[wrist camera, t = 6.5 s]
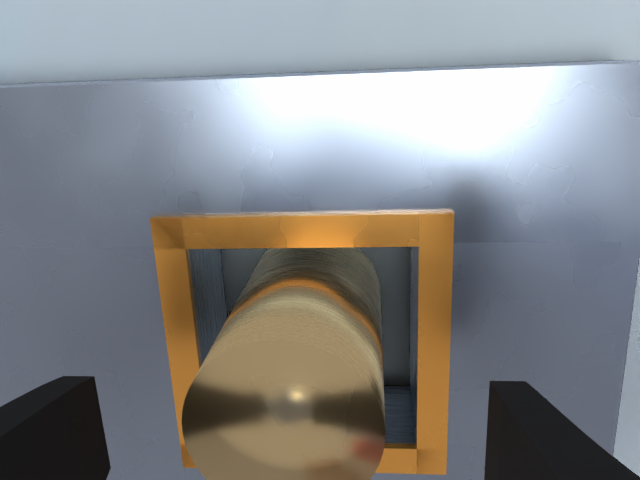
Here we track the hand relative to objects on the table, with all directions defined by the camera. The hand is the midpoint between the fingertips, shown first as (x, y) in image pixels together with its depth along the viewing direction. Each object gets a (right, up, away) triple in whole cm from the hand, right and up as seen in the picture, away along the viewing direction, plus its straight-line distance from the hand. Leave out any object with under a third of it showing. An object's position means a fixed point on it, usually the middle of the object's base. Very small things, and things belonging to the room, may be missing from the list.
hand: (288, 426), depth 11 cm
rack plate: (-2, +2, +5) cm, 6 cm away
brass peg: (0, +2, +5) cm, 5 cm away
